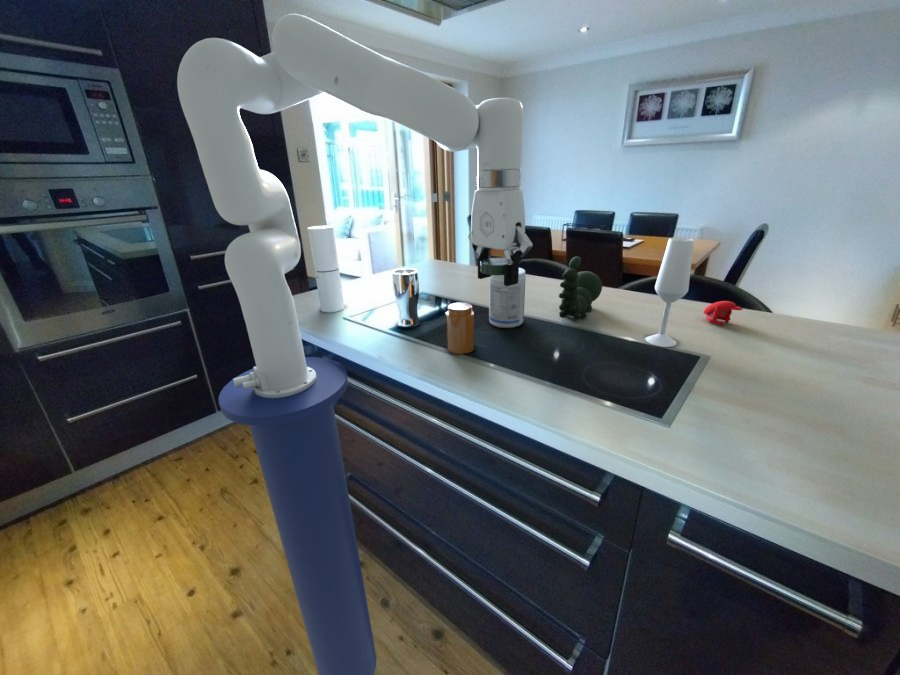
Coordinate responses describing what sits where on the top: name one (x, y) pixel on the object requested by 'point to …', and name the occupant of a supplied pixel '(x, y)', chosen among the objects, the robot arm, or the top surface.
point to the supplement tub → (506, 301)
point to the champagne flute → (672, 282)
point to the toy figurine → (578, 291)
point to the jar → (460, 328)
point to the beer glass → (406, 296)
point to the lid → (493, 266)
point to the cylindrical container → (326, 268)
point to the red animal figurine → (720, 311)
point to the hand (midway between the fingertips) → (497, 280)
